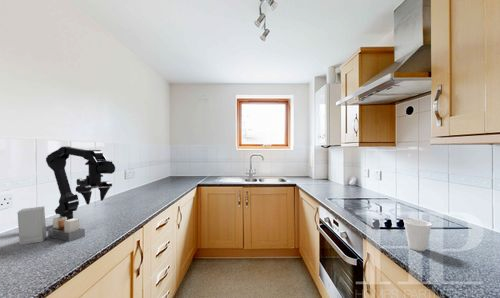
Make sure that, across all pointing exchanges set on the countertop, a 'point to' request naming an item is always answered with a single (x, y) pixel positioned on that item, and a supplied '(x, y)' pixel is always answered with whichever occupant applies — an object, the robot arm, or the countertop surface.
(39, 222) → the skincare box
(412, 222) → the cup
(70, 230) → the pale upright block
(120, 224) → the countertop surface
